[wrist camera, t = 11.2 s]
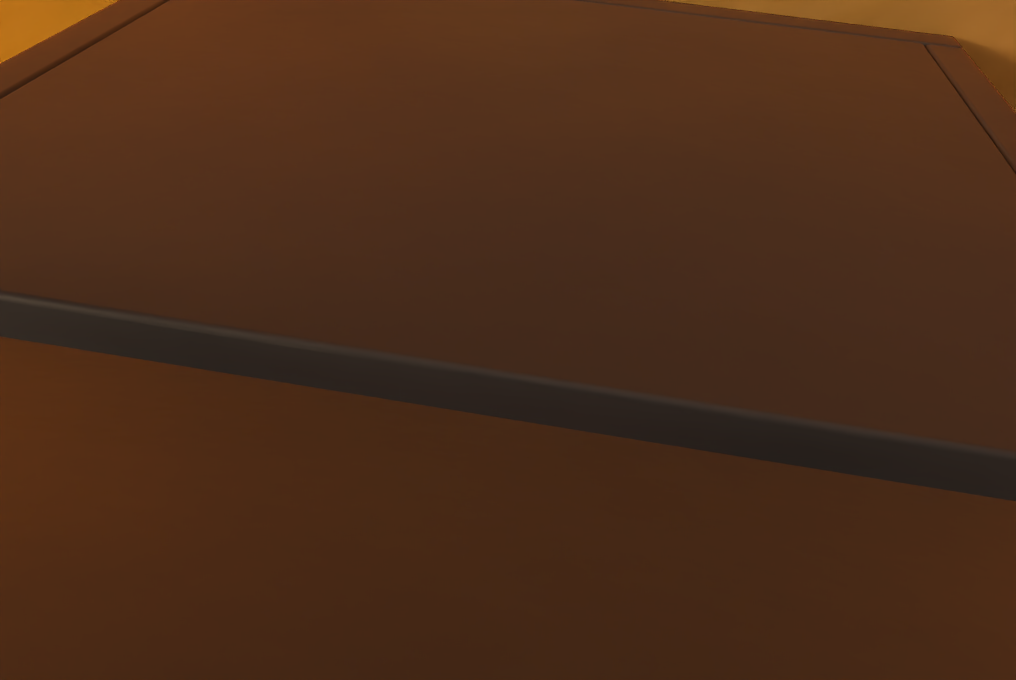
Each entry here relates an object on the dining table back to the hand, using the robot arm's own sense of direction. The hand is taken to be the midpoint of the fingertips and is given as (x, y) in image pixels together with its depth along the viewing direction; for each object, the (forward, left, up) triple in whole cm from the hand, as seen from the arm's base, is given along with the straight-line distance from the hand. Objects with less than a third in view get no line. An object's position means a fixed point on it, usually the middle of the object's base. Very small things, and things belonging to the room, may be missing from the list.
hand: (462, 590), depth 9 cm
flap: (-6, 0, +6) cm, 8 cm away
